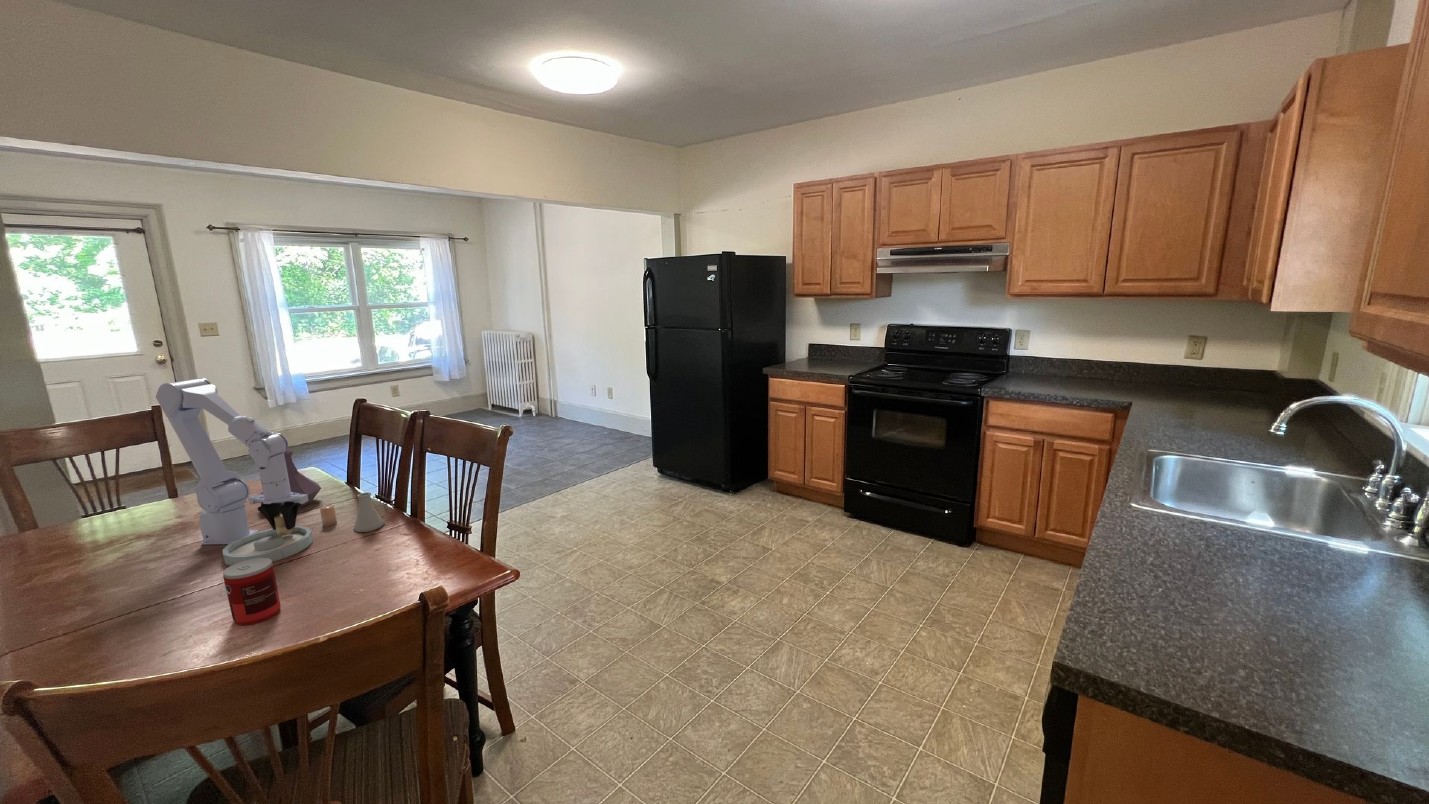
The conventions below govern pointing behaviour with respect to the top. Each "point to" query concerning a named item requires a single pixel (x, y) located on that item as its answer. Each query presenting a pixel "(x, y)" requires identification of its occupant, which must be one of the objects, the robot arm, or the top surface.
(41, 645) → the top surface
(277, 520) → the tan rounded cylinder
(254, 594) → the canned food
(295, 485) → the flask
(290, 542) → the groove tray
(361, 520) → the flask
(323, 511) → the peach rounded cylinder
